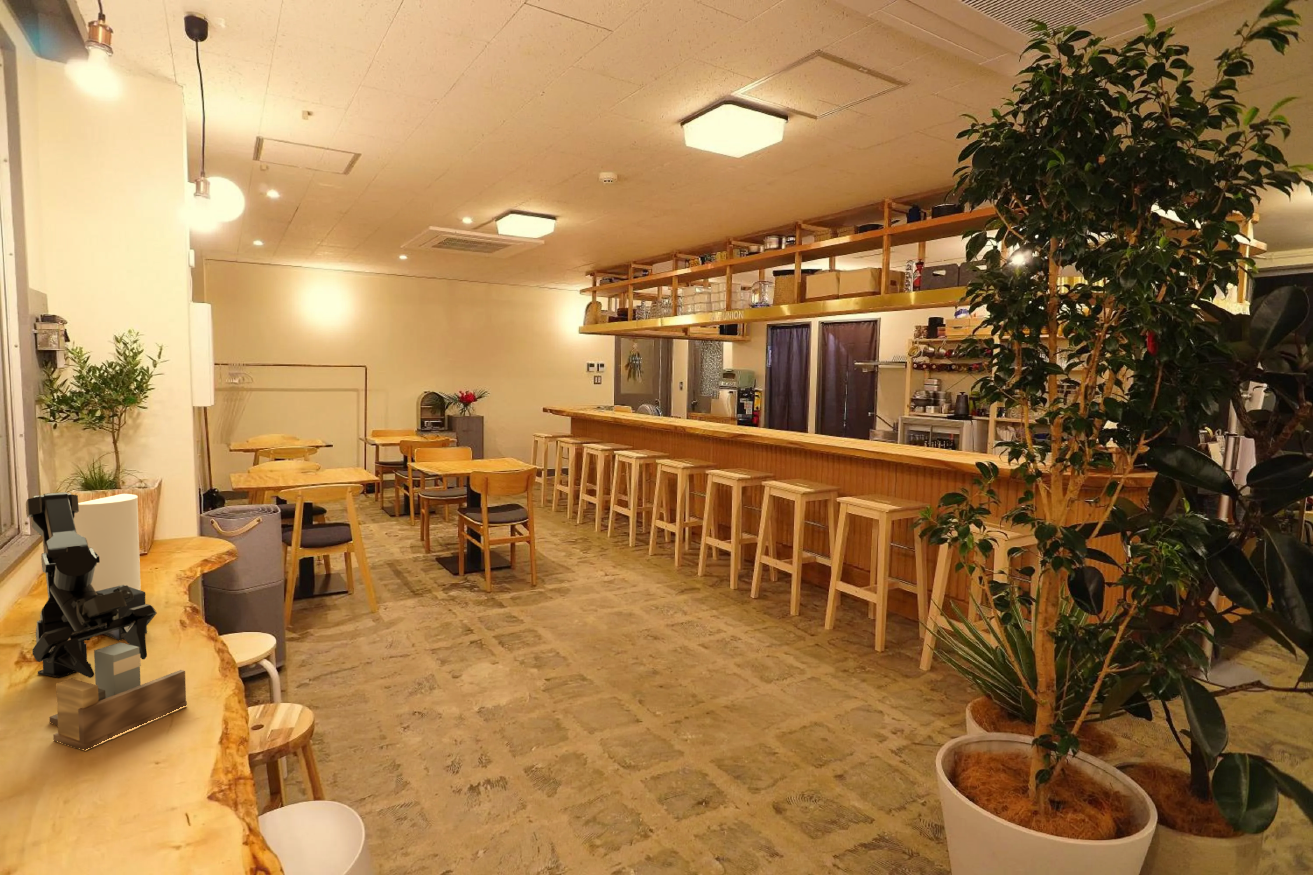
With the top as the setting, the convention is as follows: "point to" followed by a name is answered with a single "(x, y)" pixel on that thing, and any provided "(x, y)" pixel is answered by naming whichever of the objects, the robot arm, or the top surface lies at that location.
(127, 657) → the grey upright block
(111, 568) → the cylinder
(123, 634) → the small box
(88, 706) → the wooden l-bracket
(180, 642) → the top surface
